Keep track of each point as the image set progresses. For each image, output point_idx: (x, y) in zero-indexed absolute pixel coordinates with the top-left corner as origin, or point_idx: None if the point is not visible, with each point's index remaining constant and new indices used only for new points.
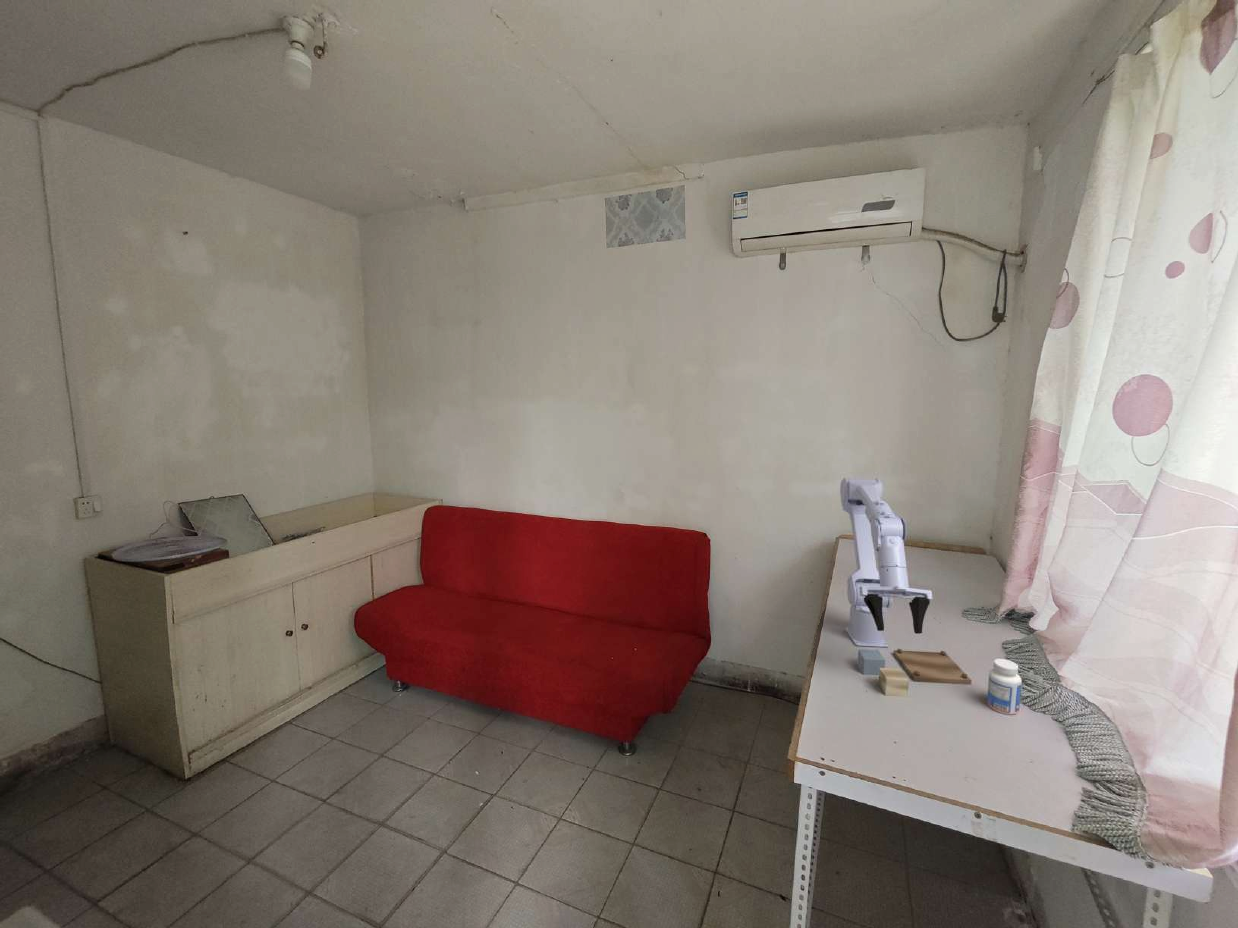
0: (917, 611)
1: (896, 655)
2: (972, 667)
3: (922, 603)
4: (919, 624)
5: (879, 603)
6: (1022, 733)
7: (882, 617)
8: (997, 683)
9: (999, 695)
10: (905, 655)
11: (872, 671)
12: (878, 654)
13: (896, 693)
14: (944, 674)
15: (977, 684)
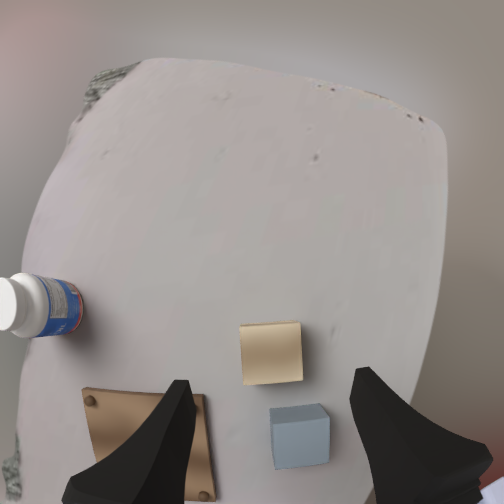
0: (162, 464)
1: (213, 486)
2: (69, 444)
3: (115, 483)
4: (174, 402)
5: (431, 450)
6: (73, 225)
7: (382, 403)
8: (45, 287)
9: (57, 284)
10: (193, 484)
11: (299, 409)
12: (281, 449)
13: (268, 322)
14: (127, 411)
15: (75, 386)
